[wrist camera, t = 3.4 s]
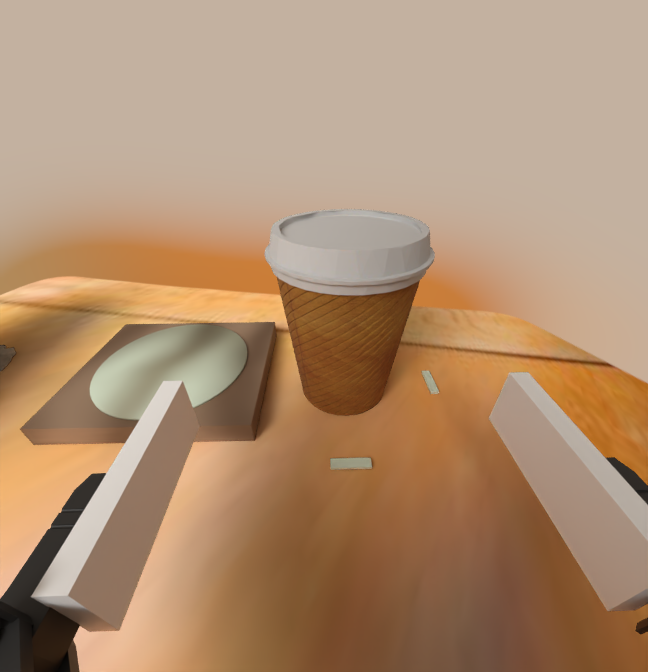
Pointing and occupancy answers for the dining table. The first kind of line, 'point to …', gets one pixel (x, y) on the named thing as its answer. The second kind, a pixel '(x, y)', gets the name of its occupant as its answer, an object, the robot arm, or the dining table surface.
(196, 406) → the board
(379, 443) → the dining table surface
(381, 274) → the disposable coffee cup
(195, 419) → the robot arm
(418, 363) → the dining table surface
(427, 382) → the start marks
